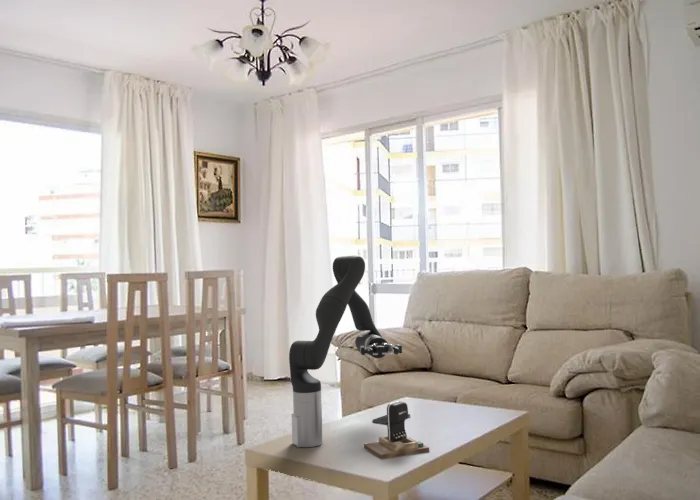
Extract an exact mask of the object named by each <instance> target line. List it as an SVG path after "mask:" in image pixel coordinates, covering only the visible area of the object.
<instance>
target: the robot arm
mask: <svg viewBox="0 0 700 500" xmlns="http://www.w3.org/2000/svg"><path fill="white" fill-rule="evenodd" d="M365 271H366V262H365V259H364V258H363V257H362V256H361V255H344V256H338V257H336V258H334V260H333V262H332V272H333V276H334V279H335V281H336V282H337V284H335V285H334V286H333V287H331V288H330V289H329V290H328V291H326V292H325V293H324V294H323V296H322V297H321V298H320V300H319V303H318V305H317V307H316V308H315V309H316V310H315V320H316V323H317V326H318V332H317V335H316V337H315V339H314V340H295V341H294V342H292V343H291V346H290V348H289V352H288V353H289V354H288V361H289V372H290V373H289V374H290V376H289V377H290V382H291V387H292V409H293V413H291V440H292V441H291V442H292V444H293V445H294V446H295V447H296V448H311V447H312V448H313V447H318V446H321V445H322V444H323V442H324V441H323V440H324V439H323V438H324V437H323V411H322V410H323V409H322V408H323V407H322V406H323V405H322V383H321V381H320V380H319V378H315V377H314V376H312V375H311V374H310V373H309V371H310V370H311V371H315V370H319V369H320V368H322V366H323V365H324V363H325V361H326V359H327V357H328V352H329V349H330V347H331V343H332V341H333V338H334V336H335V333H336V330H337V328H338V326H339V323H340V322H341V320H342V317H343V315H344V313H345V312H346V309H347V306H348V307H349V308H348V309H349V311H350V314H351V317H352V320H353V324H354V327H355V329H356V330H357V331H360V332H361V331H367V332H364V333H362V334H359V335H357V337H356V338H355V341H354V342H355V347H356V349H357V350H358V351H359V353H360V355H362V356H365V355H367V356H370V357H373V358H374V359H382V358H384V357H386V355H393V354H394V355H398V354H402V353H403V345H401V344H399V343H395V344H394V345H393V344H392V343H388V341H387V340H386V339H385V338H383V337H382V335H381V333H380V331H379V330H378V328H377V327H376V325H375V324H374V321H373V318H372V314H371V311H370V308H369V306H368V303H367V302H366V301H365V300H364V298H362V296H360V294H359V293H358V292H357V291H356V288H357V287H358V286H359V284H360V282H361V281H362V279H363V277H364V274H365ZM308 370H309V371H308Z"/></svg>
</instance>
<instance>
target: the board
mask: <svg viewBox="0 0 700 500" xmlns="http://www.w3.org/2000/svg"><path fill="white" fill-rule="evenodd" d="M363 449H365V450H367V451H368V452H370V453H371V454H373V455H375V456H376V457H378V458H380V459H381V460H384V459H390V458H396V457H402V456H409V455H415V454H421V453H427V452H430V447H429V446H428V445H425V444H424V442H422V441H419V440H418V441H417V440H415V439H413V438H411V437H409V436H407V437H406V438H405V439H402V440H399V441H389V440H388V435H386V436H379V437H378V441H375V442H369V443H364V444H363Z"/></svg>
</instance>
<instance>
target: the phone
mask: <svg viewBox="0 0 700 500" xmlns="http://www.w3.org/2000/svg"><path fill="white" fill-rule="evenodd" d="M409 418H411V414H410V413H408V418H407V419H409ZM371 422H372V423H373V424H379V425H386V426H387V414H385V415H383V416H380V417H377V418H374V419H372V421H371Z"/></svg>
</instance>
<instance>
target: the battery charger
mask: <svg viewBox="0 0 700 500" xmlns="http://www.w3.org/2000/svg"><path fill="white" fill-rule="evenodd" d="M408 407H409V406H408V403H406V402H404V401H400V400H397V401H393V402H389V403H388V404H387V407H386V415H387V425H386V426H387V427H386V428H387V436H388V440H389V441H399V440H402V439H405V438H406V437H408V436H407V435H408V434H407V432H406V429H405V428H406V426H405V422H406V420H407V419H409V418H408V414H409V408H408Z"/></svg>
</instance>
